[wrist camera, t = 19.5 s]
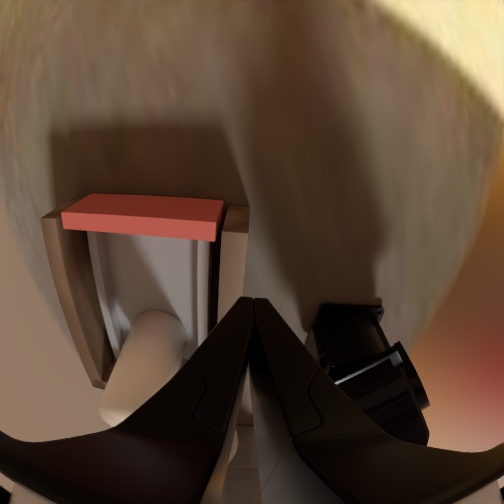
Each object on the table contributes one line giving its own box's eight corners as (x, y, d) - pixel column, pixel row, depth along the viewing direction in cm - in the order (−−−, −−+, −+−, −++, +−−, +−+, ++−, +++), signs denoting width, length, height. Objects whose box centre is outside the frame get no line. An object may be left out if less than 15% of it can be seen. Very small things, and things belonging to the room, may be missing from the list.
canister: (189, 317, 24) (166, 416, 15) (184, 355, 26) (166, 444, 18) (133, 304, 23) (91, 394, 15) (134, 343, 26) (103, 426, 17)
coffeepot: (271, 415, 33) (276, 540, 17) (294, 440, 37) (301, 541, 21) (176, 430, 36) (159, 533, 20) (208, 453, 40) (200, 542, 24)
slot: (249, 207, 21) (248, 233, 16) (233, 374, 29) (231, 411, 24) (75, 197, 20) (40, 218, 16) (108, 354, 28) (93, 386, 24)
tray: (223, 200, 20) (215, 222, 16) (216, 362, 28) (211, 396, 24) (91, 193, 20) (61, 212, 16) (118, 346, 27) (104, 377, 23)
